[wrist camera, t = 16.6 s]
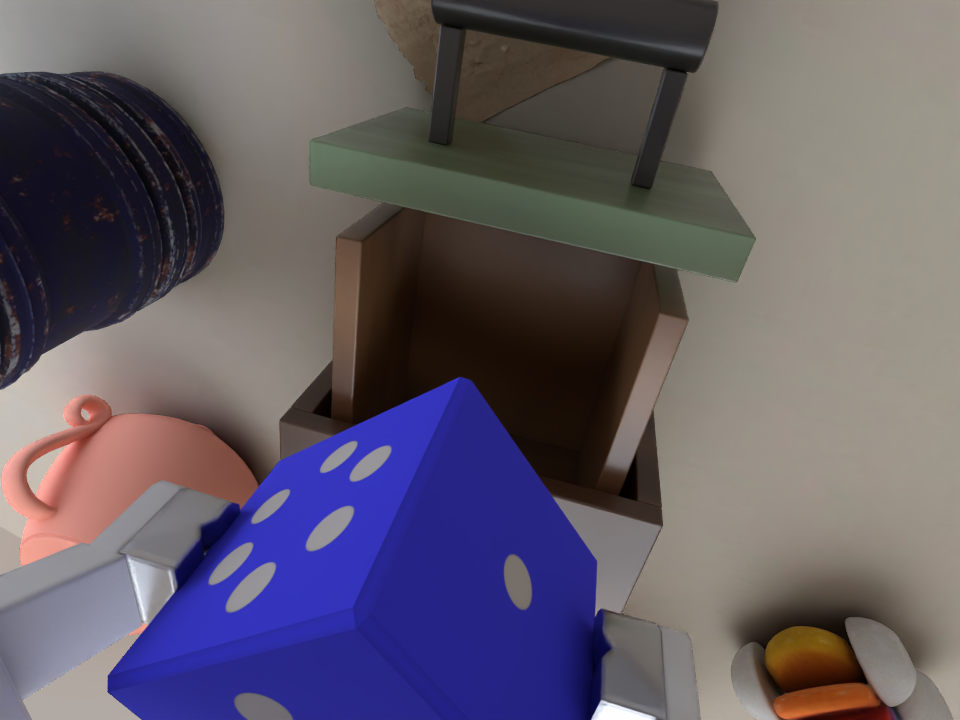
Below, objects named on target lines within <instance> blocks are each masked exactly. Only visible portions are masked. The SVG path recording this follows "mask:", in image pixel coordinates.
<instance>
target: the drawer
mask: <svg viewBox="0 0 960 720" xmlns="http://www.w3.org/2000/svg"><path fill="white" fill-rule="evenodd" d="M431 8H432V15H433V19H434V21H435V22H436V23H437V24H441V27H440V34H439V43H438V53H437V62H436V72H435V81H434V90H433V100H432V109H431V112H427V111H422V110H417V109H413V108H408V107H406V108H403V109H400V110H397V111H394V112H391V113H388V114H385V115H382V116H379V117H376V118H373V119H371V120H368V121H365V122H362V123H359V124H356V125H353V126H350V127H347V128H344V129H341V130H338V131H335V132H332V133H329V134H326V135H323V136H320V137H317V138H314V139H311V140H310V185H311V186H315V187H319V188H324V189H328V190H332V191H337V192H341V193H346V194H350V195H354V196H359V197H363V198H367V199H372V200H376V201H381V202H384V203H382V204H381V205H380V206H378V207H377V208H375V209H374V210H373V211H371V212H370V213H368V214H367V215H365V216H364V217H363V218H361V219H360V220H358V221H357V222H356V223H354V224H353V225H351V226H350V227H349V228H347V229H346V230H344V231H343V232H341V233H340V234H339V235H337V237H336V262H335V297H334V333H333V368H332V404H331V419H335V420H339V421H342V422H346V423H350V424H354V425H358V424H360V423H362V422H364V421H366V420H368V419H371V418H373V417H375V416H377V415H379V414H381V413H384V412H386V411H388V410H390V409H392V408H394V407H396V406H399V405H401V404H403V403H405V402H407V401H409V400H411V399H414V398H416V397H418V396H420V395H422V394H424V393H427V392H429V391H431V390H433V389H435V388H437V387H439V386H442V385H444V384H446V383H448V382H450V381H452V380H455V379H457V378H459V377H462V378H465V379H469V380H471V381H472V382H473V383H474V385H475V386H476V388H477V389H478V391H479V392H480V394H481V395H482V396H483V398H484V399H485V401H486V402H487V404H488V405H489V406H490V408H491V409H492V411H493V412H494V414H495V415H496V416H497V418H498V419H499V421H500V422H501V424H502V425H503V427H504V428H505V429H506V431H507V432H508V434H509V435H510V437H511V438H512V439H513V441H514V442H515V444H516V445H517V447H518V448H519V449H520V451H521V452H522V454H523V455H524V457H525V458H526V460H527V461H528V462H529V464H530V465H531V467H532V468H533V470H534V471H535V472H536V474H538V475H542V476H546V477H549V478H553V479H557V480H560V481H564V482H568V483H571V484H575V485H579V486H582V487H586V488H590V489H594V490H597V491H601V492H605V493H608V494H612V495H616V496H619V494H620V491H621V489H622V486H623V484H624V481H625V479H626V476H627V474H628V471H629V469H630V466H631V464H632V461H633V459H634V456H635V454H636V451H637V449H638V446H639V444H640V441H641V439H642V436H643V434H644V431H645V429H646V426H647V424H648V421H649V419H650V416H651V414H652V411H653V409H654V406H655V404H656V401H657V399H658V396H659V394H660V391H661V389H662V386H663V384H664V381H665V379H666V376H667V374H668V371H669V369H670V366H671V364H672V361H673V359H674V356H675V354H676V351H677V349H678V346H679V344H680V341H681V339H682V336H683V334H684V331H685V329H686V326H687V324H688V321H689V318H688V314H687V310H686V306H685V302H684V297H683V293H682V289H681V285H680V281H679V277H678V272H677V269H678V270H683V271H687V272H692V273H696V274H700V275H705V276H709V277H714V278H718V279H722V280H727V281H731V282H737V281H738V279H739V277H740V274H741V272H742V270H743V267H744V265H745V263H746V260H747V258H748V256H749V254H750V251H751V249H752V247H753V244H754V242H755V240H756V237H755V236H754V234H753V233H752V231H751V230H750V228H749V227H748V225H747V224H746V222H745V221H744V219H743V218H742V216H741V215H740V213H739V212H738V210H737V209H736V207H735V206H734V204H733V203H732V201H731V200H730V198H729V197H728V195H727V194H726V192H725V191H724V189H723V188H722V186H721V185H720V183H719V182H718V180H717V179H716V177H715V176H714V174H713V173H712V172H711V171H708V170H703V169H699V168H694V167H689V166H684V165H680V164H675V163H670V162H665V161H661V158H662V155H663V152H664V149H665V145H666V142H667V139H668V136H669V133H670V130H671V126H672V123H673V120H674V117H675V114H676V111H677V108H678V104H679V101H680V98H681V95H682V92H683V89H684V86H685V82H686V79H687V76H688V75H687V73H686V72H689V73H695V72H696V71H697V70H698V69H699V67H700V65H701V63H702V61H703V58H704V56H705V53H706V51H707V48H708V45H709V42H710V39H711V36H712V33H713V30H714V26H715V22H716V18H717V14H718V2H717V1H715V0H431ZM466 29H467V30H472V31H477V32H483V33H488V34H493V35H498V36H503V37H509V38H514V39H519V40H524V41H529V42H534V43H540V44H545V45H550V46H555V47H560V48H565V49H571V50H576V51H581V52H586V53H591V54H596V55H602V56H607V57H612V58H617V59H622V60H627V61H633V62H638V63H643V64H648V65H653V66H658V67H664V70H663V72H662V76H661V79H660V82H659V86H658V89H657V93H656V96H655V99H654V103H653V106H652V110H651V113H650V116H649V120H648V123H647V126H646V130H645V133H644V137H643V140H642V143H641V147H640V150H639V153H638V156H637V155H632V154H627V153H622V152H618V151H613V150H608V149H603V148H599V147H594V146H589V145H584V144H580V143H575V142H570V141H565V140H560V139H556V138H551V137H546V136H541V135H537V134H532V133H527V132H522V131H518V130H513V129H508V128H503V127H499V126H494V125H489V124H484V123H479V122H475V121H470V120H465V119H460V118H456V117H455V114H456V106H457V99H458V91H459V83H460V75H461V67H462V60H463V52H464V44H465V36H466Z"/></svg>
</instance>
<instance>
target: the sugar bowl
mask: <svg viewBox="0 0 960 720" xmlns="http://www.w3.org/2000/svg"><path fill="white" fill-rule="evenodd" d="M82 408H83V409H85V410H86V411H88V413H89V414H90V418H89V420H88V421H86V420H85V419H84V418H83V417H82V416H81V409H82ZM63 414H64V418H65V420H66V422H67V423H68V424H69V425H71V426H73V428H70V429H67V430H64V431H61V432H58V433H55V434H52V435H50V436H47V437H44V438H42V439H40V440H37V441H35V442H33V443H31V444H29V445H27V446H25V447H24V448H22V449H21V450H19V451H18V452H17V453H15V454H14V455H13V456H12V457H11V458H10V459H9V461H8V462H7V463H6V465H5V467H4V469H3V472H2V478H1V484H2V490H3V493H4V496H5V498H6V500H7V501H8V503H9V504H10V506H11V507H12V508H13V509H14V510H15V511H17V512H18V513H20V514H21V515H23V516H25V517H27V518H28V519H27V522H26V525H25V528H24V532H23V536H22V541H21V546H20V561H21V566H24V565H27V564H29V563H32V562H34V561H37V560H39V559H42V558H44V557H47V556H49V555H52V554H54V553H57V552H59V551H62V550H64V549H67V548H69V547H72V546H74V545H77V544H79V543H86V544H90V543H91V542H92V541H94V540H95V539H96V538H97V537H98V536H99V535H100V534H101V533H102V532H103V531H104V530H105V529H106V528H107V527H108V526H109V525H110V524H111V523H112V522H114V521H115V520H116V519H117V518H118V517H119V516H120V515H121V514H122V513H123V512H124V511H125V510H126V509H127V508H128V507H129V506H130V505H131V504H132V503H134V502H135V501H136V500H137V499H138V498H139V497H140V496H141V495H142V494H143V493H144V492H145V491H146V490H147V489H148V488H149V487H150V486H151V485H153V484H155V483H157V482H159V481H162V480H164V481H167V482H170V483H174V484H177V485H180V486H184V487H187V488H190V489H193V490H196V491H199V492H202V493H206V494H209V495H212V496H215V497H218V498H221V499H224V500H228V501H231V502H234V503H237V504H239V505H240V510H241V508H242V507H243V506H244V505H245V503H246V502H247V501H248V500H249V498H250V497H251V496H252V495H253V493H254V492H255V491H256V490H257V488H258V487H259V485H258V483H257V481H256V479H255V477H254V476H253V474H252V472H251V471H250V469H249V468H248V466H247V465H246V464H245V462H244V461H243V460H242V459H241V458H240V457H239V456H238V455H237V453H236V452H235V451H233V450H232V449H231V448H230V447H229V446H228V445H227V444H226V443H224V442H223V441H222V440H220V439H219V438H218V437H216V435H215V434H214V433H213V432H212V431H211V430H210V429H209V428H207V427H206V426H203V425H200V424H192V423H190V422H187V421H184V420H181V419H178V418H173V417H168V416H161V415H152V414H120V415H115V416H112V411H111V408H110V406H109V405H108V403H106V402H105V401H104V400H102V399H101V398H99V397H96V396H93V395H81V396H78V397H75V398H74V399H72V400H71V401H69V402H68V404H67V405H66V406H65V409H64V412H63ZM65 445H67V446H66V447H65V448H64V449H63V451H62V452H61V453H60V454H59V455H58V457H57V458H56V459H55V461H54V462H53V463H52V465H51V466H50V468H49V470H48V471H47V473H46V475H45V477H44V478H43V480H42V482H41V484H40V486H39V488H38V491H37V493H36V495H34V494H33V492H32V491H31V489H30V487H29V485H28V482H27V477H26V474H27V470H28V468H29V466H30V465H31V464H32V463H33V462H34V461H35V460H36V459H38V458H39V457H41V456H43V455H44V454H46V453H48V452H50V451H52V450H55V449H57V448H60V447H62V446H65ZM147 626H148V624H144V623H142V626H141V627H139V628H138V629H136V630H135V631H133V632H131V633H130V634H128V635H133V634H139V633H142V632H143V631H144V630H145V629H146V627H147Z"/></svg>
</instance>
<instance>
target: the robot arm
mask: <svg viewBox="0 0 960 720" xmlns="http://www.w3.org/2000/svg"><path fill="white" fill-rule="evenodd" d="M240 513H241V512H240V505H239V504H237V503H234V502H231V501H228V500H224V499H221V498H218V497H215V496H212V495H209V494H206V493H202V492H199V491H196V490H193V489H190V488H187V487H184V486H180V485H177V484H174V483H170V482H167V481H164V480H162V481H159V482H157V483H155V484H153V485H151V486H150V487H149V488H148V489H147V490H146V491H145V492H144V493H143V494H142V495H141V496H140V497H139V498H138V499H137V500H136V501H135V502H134V503H132V504H131V505H130V506H129V507H128V508H127V509H126V510H125V511H124V512H123V513H122V514H121V515H120V516H119V517H118V518H117V519H116V520H115V521H114V522H112V523H111V524H110V525H109V526H108V527H107V528H106V529H105V530H104V531H103V532H102V533H101V534H100V535H99V536H98V537H97V538H96V539H95V540H94V541H92V542H91V543H90V544H86V543H79V544H77V545H74V546H72V547H69V548H67V549H64V550H62V551H59V552H57V553H54V554H52V555H49V556H47V557H44V558H42V559H39V560H37V561H34V562H32V563H29V564H27V565H24V566H22V567H19V568H17V569H14V570H12V571H10V572H7V573H4V574H2V575H0V720H32V719H31V717H30V715H29V713H28V711H27V709H26V707H25V705H24V703H23V701H22V700H23V699H25V698H27V697H28V696H30V695H32V694H33V693H34V692H36V691H38V690H39V689H41V688H43V687H44V686H46V685H48V684H49V683H51V682H52V681H54V680H56V679H57V678H59V677H60V676H62V675H64V674H65V673H67V672H69V671H70V670H72V669H73V668H75V667H76V666H78V665H80V664H81V663H83V662H85V661H86V660H88V659H89V658H91V657H93V656H94V655H96V654H97V653H99V652H101V651H102V650H104V649H106V648H107V647H109V646H110V645H112V644H113V643H115V642H117V641H118V640H120V639H122V638H123V637H125V636H126V635H128V634H130V633H131V632H133V631H135V630H136V629H138V628H139V627H141V626H142V623H144V624H148V625H149V624H150V622H151V621H152V620H153V619H154V617H155V616H156V615H157V614H158V612H159V611H160V610H161V609H162V607H163V606H164V605H165V604H166V602H167V601H168V600H169V599H170V597H171V596H172V595H173V594H174V593H175V592H177V591H179V590H180V589H181V587H182V586H183V585H184V584H185V582H186V581H187V580H188V579H189V577H190V576H191V575H192V574H193V572H194V571H195V570H196V569H197V567H198V566H199V565H200V564H201V562H202V561H203V560H204V555H205V553H206V552H207V551H208V550H209V548H210V547H211V546H212V545H213V544H215V543H216V542H217V541H218V540H219V539H220V538H221V537H222V536H223V535H224V533H225V532H226V531H227V529H228V528H229V527H230V526H231V524H232V523H233V522H234V521H235V519H236V518H237V517H238V516H239V514H240ZM592 657H593V677H592V679H591V687H590V713H589V720H701V716H700V708H699V700H698V692H697V684H696V675H695V667H694V659H693V651H692V643H691V639H690V637H689V635H688V633H685V632H682V631H678V630H675V629H671V628H668V627H664V626H660V625H657V624H656V623H653V622H649V621H646V620H642V619H638V618H635V617H631V616H627V615H624V614H620V613H616V612H613V611H609V610H606V609H602V608H601V609H600V610H599V611H598V612H597V614H596V617H595V619H594V625H593V644H592Z"/></svg>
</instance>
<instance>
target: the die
mask: <svg viewBox="0 0 960 720" xmlns="http://www.w3.org/2000/svg"><path fill="white" fill-rule="evenodd" d="M240 512H241V513H240V514H239V516H238V517H237V518H236V519H235V521H234V522H233V523H232V524H231V526H230V527H229V528H228V529H227V531H226V532H225V533H224V535H223V536H222V537H221V538H220V539H219V540H218V541H217V542H216V543H215V544H213V545H212V546H211V547H210V548H209V550H208V551H207V552H206V553H205V555H204V560H203V561H202V562H201V564H200V565H199V566H198V567H197V569H196V570H195V571H194V572H193V574H192V575H191V576H190V577H189V579H188V580H187V581H186V582H185V584H184V585H183V586H182V587H181V589H180V590H179V591H177V592H175V593H174V594H173V595H172V596H171V597H170V599H169V600H168V601H167V602H166V604H165V605H164V606H163V607H162V609H161V610H160V611H159V612H158V614H157V615H156V616H155V617H154V619H153V620H152V621H151V622H150V624H149V625H148V626H147V627H146V629H145V630H144V631H143V632H142V634H141V635H140V636H139V637H138V639H137V640H136V641H135V642H134V644H133V645H132V646H131V647H130V649H129V650H128V651H127V652H126V654H125V655H124V656H123V657H122V659H121V660H120V661H119V662H118V664H117V665H116V666H115V667H114V669H113V670H112V671H111V672H110V674H109V675H108V693H109V694H110V695H112V696H113V697H114V698H116V699H117V700H118V701H119V702H120V703H122V704H123V705H124V706H125V707H127V708H128V709H129V710H130V711H131V712H133V713H134V714H135V715H137V716H138V717H139V718H140V719H141V720H589V713H590V687H591V679H592V677H593V657H592V644H593V625H594V619H595V607H596V583H597V560H596V559H595V557H594V556H593V554H592V553H591V551H590V550H589V549H588V547H587V546H586V544H585V543H584V541H583V540H582V539H581V537H580V536H579V534H578V533H577V531H576V530H575V528H574V527H573V526H572V524H571V523H570V521H569V520H568V518H567V517H566V516H565V514H564V513H563V511H562V510H561V508H560V507H559V505H558V504H557V503H556V501H555V500H554V498H553V497H552V495H551V494H550V493H549V491H548V490H547V488H546V487H545V485H544V484H543V483H542V481H541V480H540V478H539V477H538V475H537V474H536V472H535V471H534V470H533V468H532V467H531V465H530V464H529V462H528V461H527V460H526V458H525V457H524V455H523V454H522V452H521V451H520V449H519V448H518V447H517V445H516V444H515V442H514V441H513V439H512V438H511V437H510V435H509V434H508V432H507V431H506V429H505V428H504V427H503V425H502V424H501V422H500V421H499V419H498V418H497V416H496V415H495V414H494V412H493V411H492V409H491V408H490V406H489V405H488V404H487V402H486V401H485V399H484V398H483V396H482V395H481V394H480V392H479V391H478V389H477V388H476V386H475V385H474V383H473V382H472V381H471V380H469V379H465V378H462V377H459V378H457V379H455V380H452V381H450V382H448V383H446V384H444V385H442V386H439V387H437V388H435V389H433V390H431V391H429V392H427V393H424V394H422V395H420V396H418V397H416V398H414V399H411V400H409V401H407V402H405V403H403V404H401V405H399V406H396V407H394V408H392V409H390V410H388V411H386V412H384V413H381V414H379V415H377V416H375V417H373V418H371V419H368V420H366V421H364V422H362V423H360V424H358V425H356V426H353V427H351V428H349V429H347V430H345V431H343V432H341V433H338V434H336V435H334V436H332V437H330V438H328V439H325V440H323V441H321V442H319V443H317V444H315V445H313V446H310V447H308V448H306V449H304V450H302V451H300V452H297V453H295V454H293V455H291V456H289V457H287V458H285V459H282V460H280V461H279V462H278V463H277V465H276V466H275V467H274V468H273V470H272V471H271V472H270V473H269V475H268V476H267V477H266V478H265V480H264V481H263V482H262V483H261V485H260V486H259V487H258V488H257V490H256V491H255V492H254V493H253V495H252V496H251V497H250V498H249V500H248V501H247V502H246V503H245V505H244V506H243V507H242V508H241V510H240Z"/></svg>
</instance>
